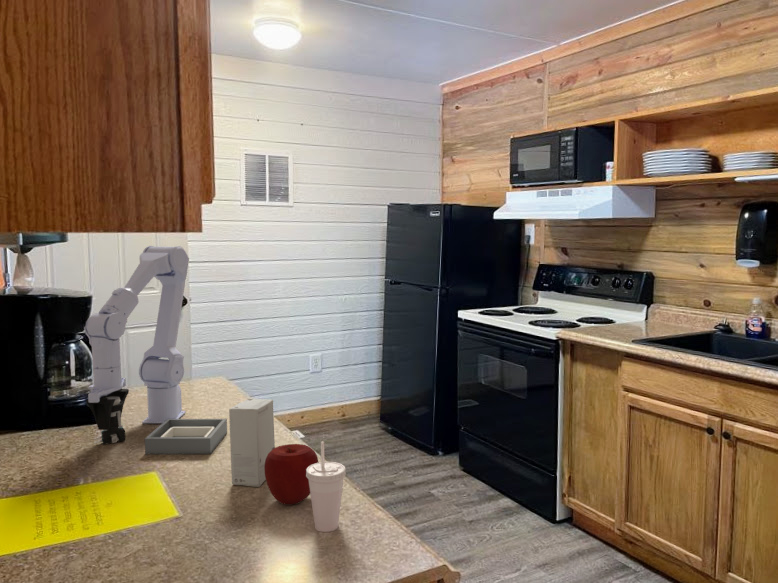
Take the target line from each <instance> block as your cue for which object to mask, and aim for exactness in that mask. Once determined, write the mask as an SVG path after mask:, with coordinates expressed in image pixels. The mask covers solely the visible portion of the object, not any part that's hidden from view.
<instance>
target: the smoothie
mask: <svg viewBox="0 0 778 583" xmlns="http://www.w3.org/2000/svg"><path fill="white" fill-rule="evenodd" d="M318 462H319V463H315V464H312V465H310V466H309V467H308V468H307V469H306V477H307V478H308V480H309V488H310V500H311V507H312V515H313V521H314V528H315V530H316V531H318V532H321V533H329V532H333V531H335V530H337V529H338V527H339V520H340V512H341V504H342V503H341V502H342V495H343V486H344V478H345V477H346V475H347V472H346V466H345V465H343V464H342V463H340V462H335V461H325V441H320V461H318Z"/></svg>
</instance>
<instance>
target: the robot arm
mask: <svg viewBox="0 0 778 583" xmlns="http://www.w3.org/2000/svg"><path fill="white" fill-rule="evenodd" d="M189 261H190V258H189V255H188V253H187V251H186V250H185V249H184V248H183V246H181V245H175V246H155V245H147V246H146V247H145V248H144V249H143V250H142V252H141V253H140V254H139V264H138V265H137V267H136V269H135V270H134V271H133V273H132V275H131V276H130V278H129V280H128V281H127V283H126V284H125V286H124V287H119V288H116V289H114V290H113V291H112V293H111V295H110V297H109V298H108V300H107V301H106V302H105V304H104V305H102V307H101V308H100V310H99V312H96V313H94V314H92V315H90V316H89V317H88V318H87V320H86V322H85V326H83V330H84V332H85V333H84V334H85V335H86V336H87V337H88V339H89V340H88V341H89V342H88V343H89V345H90V346H91V356H92V376H93V377H92V379H93V384H91V385H89V386H88V390H91V391H90V392H89V393H88V396H87V397H88V398H87V399H86V401H85V402H86V406H88V408H89V409H90V411H91V413H92V414H93V417H94V420H95V423H96V426H97V428H98V430H100V431H103V430H108V429H109V427H110V420H111V411H112V407H113V404H114V402H115V399H108V398H106V397H112V396H117V397H120V400H123V401H124V404H123V406H124V405H125V402H126V399H127V397H128V395H129V390H130V389H128V388H125V387H126V386H127V383H126V382H127V380H126V378H125V377H122V366H121V365H122V364H121V362H122V360H121V346H120V344H121V342H120V338H121V337H122V336H123V335H124V334H125V331H126V326H127V323H128V318H129V317H130V315H131V313H133V311H134V310H135V309H136V307H137V305H138V304H139V297H138V296H139V295H140V294H141V292H142V291H143V290H144V289H145V288H146V286H148V285H149V283H150V282H151V280H153V278H155V279H156V280H158V281H159V282H160V284H161V285H162V288H161V294H160V299H159V300H160V301H159V307H158V313H157V320H156V326H155V331H154V332H155V333H154V338H153V345H151V347H150V348H148V349H147V350H145V352H144V353H143V358H142V361H141V363H140V364H139V368H138V375H139V376H138V377H139V378H140V380H141V381H142V382H143V383H144V387H146V394H147V395H146V398H147V399H146V400H147V417H146V418H145V419H144V420H142V424H162V423H163V422H165V421H166V420H167V419H181V418H182V417H183V416H184V415H185V413H186V410H183V405H182V388H181V386H180V382H182V379H183V377H184V374H185V367H184V357H185V356H184V355H183V354H182V352H180V351H179V350H178V348H177V347H176V346H177V340H178V334H179V326H180V320H181V319H180V318H181V313H182V306H183V299H184V292H185V286H186V279H187V276H188V275H187V274H188V268H189V263H190V262H189ZM164 358H165V359H164ZM120 412H121V416H122V415H123V414H122V413H123V409H122V410H121V411H120ZM116 415H117V413H116ZM117 421H118V420H117Z"/></svg>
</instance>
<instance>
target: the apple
mask: <svg viewBox="0 0 778 583" xmlns="http://www.w3.org/2000/svg"><path fill="white" fill-rule="evenodd" d="M319 462H320V461H319V458H318V455H317V454H316V452H315V450H314V449H313V448H312V447H310V446H309V445H307V444H301V443H292V444H291V443H289V444H282V445H279V446H275V448H274V449H273V450H272V451H270V452H269V453H268V455H267V457H266V459H265V466H264V468H265V478H266V480H265V482H266V484H267V487H268V490H269V492H270V494H271V496H272V497H273V498H274V500H276V501H277V502H278V503H280V504H281V505H290V506H291V505H296V504H299V503H302V501H305V500H306V499H307V498H308V497H309V496H311V494H310V488H309V480H308V478H307V477H306V469H307V468H308V467H309V466H310V465H312V464H315V463H319Z"/></svg>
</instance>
